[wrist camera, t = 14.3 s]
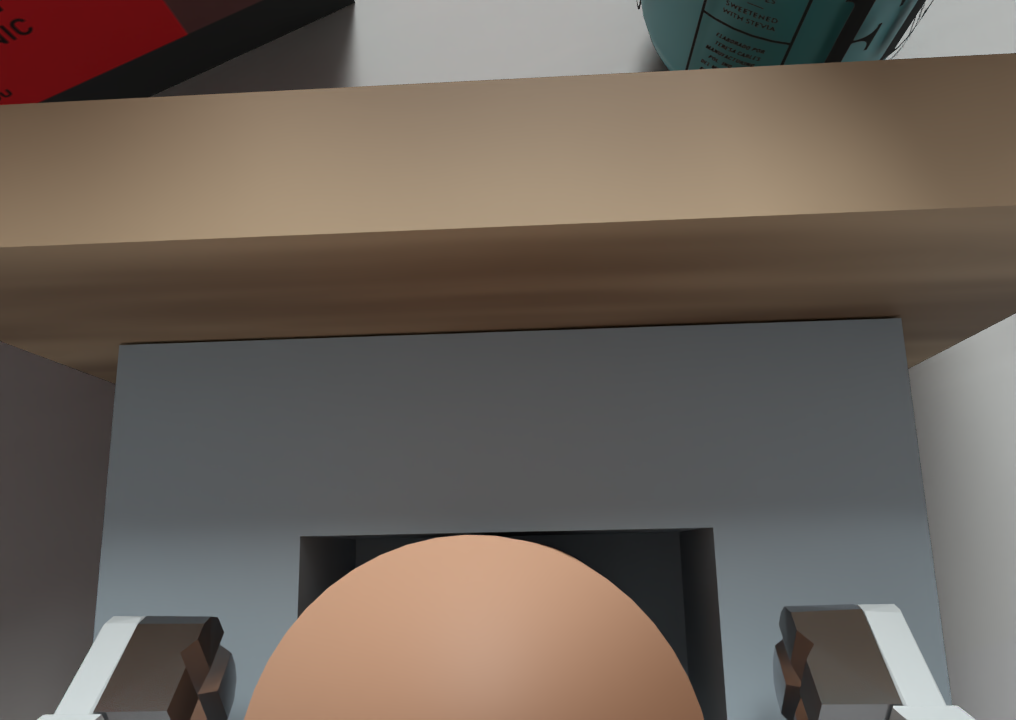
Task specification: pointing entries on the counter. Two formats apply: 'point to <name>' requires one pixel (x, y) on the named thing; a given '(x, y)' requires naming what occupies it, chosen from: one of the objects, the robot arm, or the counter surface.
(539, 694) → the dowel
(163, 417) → the square socket block
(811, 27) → the beverage bottle
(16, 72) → the cleaning product box
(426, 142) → the backstop board
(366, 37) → the counter surface
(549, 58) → the counter surface
